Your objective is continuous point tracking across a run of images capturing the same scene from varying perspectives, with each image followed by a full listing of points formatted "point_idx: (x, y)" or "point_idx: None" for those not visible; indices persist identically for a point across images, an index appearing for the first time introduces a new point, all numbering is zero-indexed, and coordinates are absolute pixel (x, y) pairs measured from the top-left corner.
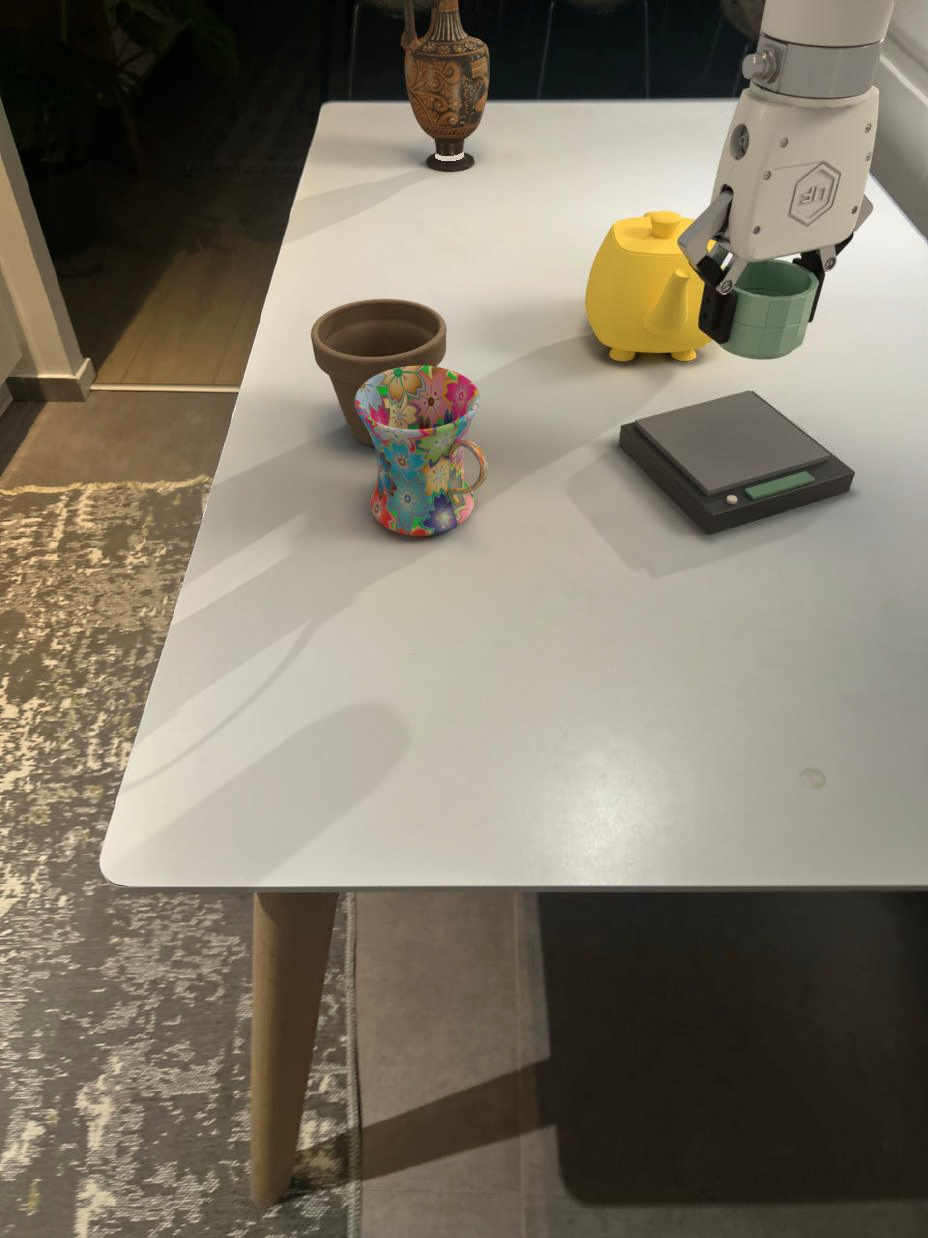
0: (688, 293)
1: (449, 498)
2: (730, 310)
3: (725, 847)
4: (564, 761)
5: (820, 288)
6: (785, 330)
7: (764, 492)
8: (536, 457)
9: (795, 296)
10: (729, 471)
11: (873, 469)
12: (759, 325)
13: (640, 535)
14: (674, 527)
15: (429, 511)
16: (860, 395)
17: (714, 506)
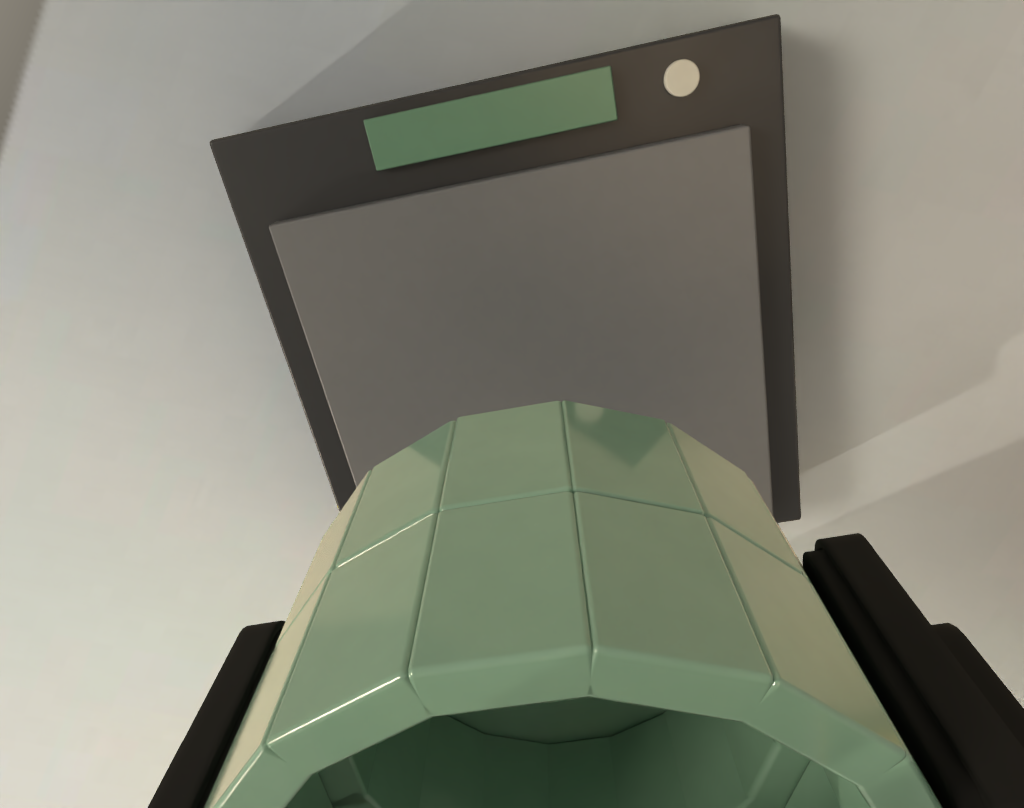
0: None
1: None
2: (957, 689)
3: None
4: None
5: (163, 798)
6: (551, 475)
7: (562, 83)
8: (1013, 480)
9: (516, 680)
10: (630, 212)
11: (126, 225)
12: (742, 538)
13: (947, 73)
14: (829, 87)
15: None
16: (57, 544)
17: (748, 63)
